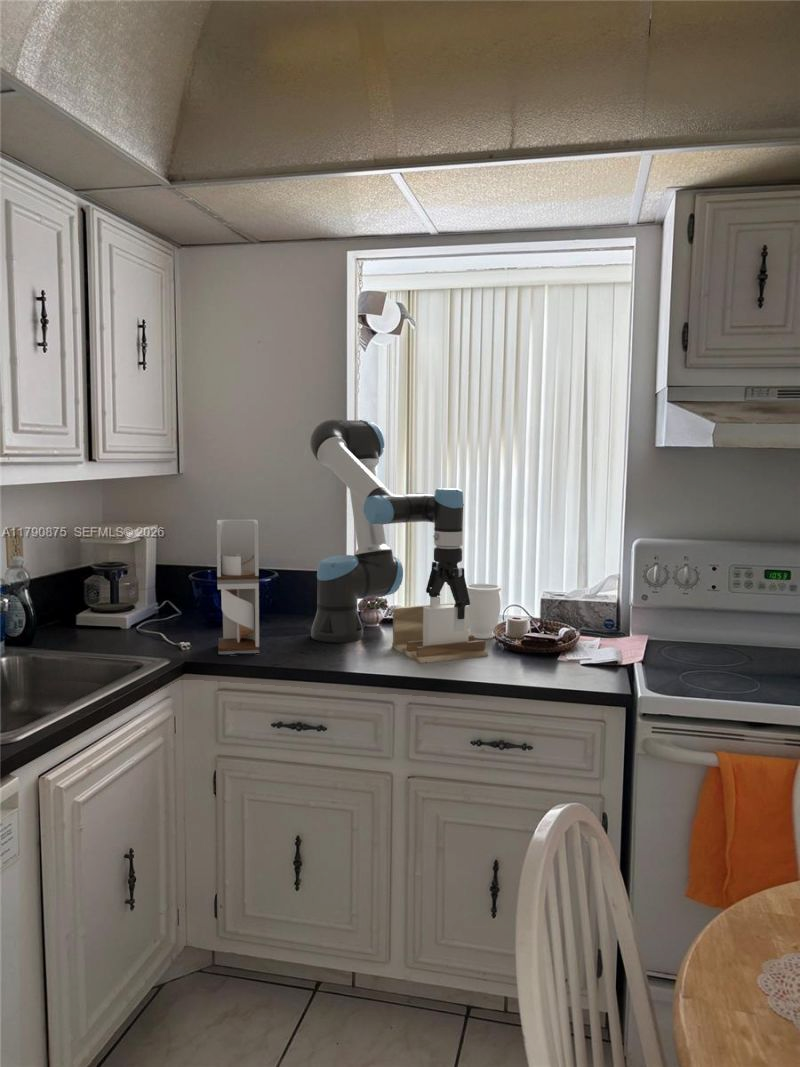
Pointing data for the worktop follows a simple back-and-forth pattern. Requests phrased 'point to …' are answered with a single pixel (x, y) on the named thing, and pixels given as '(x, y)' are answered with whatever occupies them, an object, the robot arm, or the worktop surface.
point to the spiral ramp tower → (238, 585)
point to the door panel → (443, 625)
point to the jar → (483, 609)
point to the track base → (411, 638)
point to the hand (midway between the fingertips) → (446, 625)
